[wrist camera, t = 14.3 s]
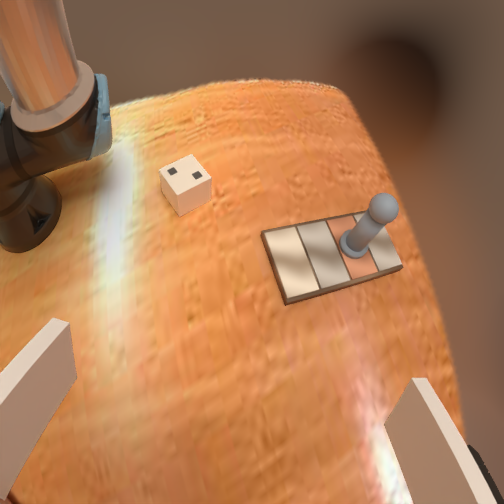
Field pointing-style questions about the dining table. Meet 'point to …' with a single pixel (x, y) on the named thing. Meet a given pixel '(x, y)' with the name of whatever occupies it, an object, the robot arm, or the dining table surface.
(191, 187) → the die
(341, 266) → the board
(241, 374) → the dining table surface
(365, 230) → the pawn
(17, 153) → the robot arm
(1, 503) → the rock
